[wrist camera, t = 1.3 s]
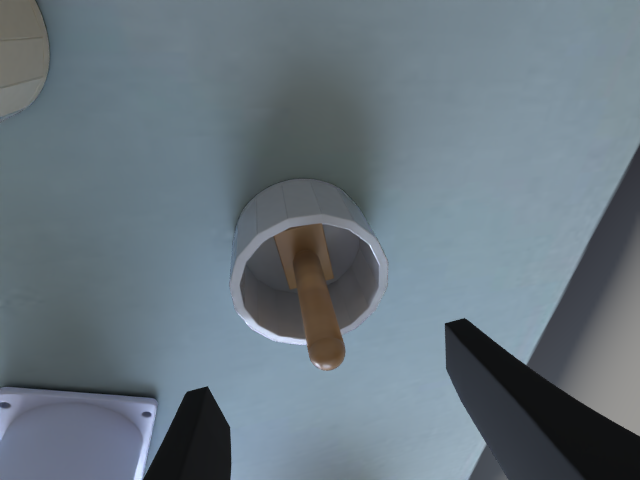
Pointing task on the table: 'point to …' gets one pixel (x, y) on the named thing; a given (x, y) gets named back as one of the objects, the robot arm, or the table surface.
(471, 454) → the table surface
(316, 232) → the wooden wall peg
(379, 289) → the grey cup
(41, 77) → the cream cup
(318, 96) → the table surface
